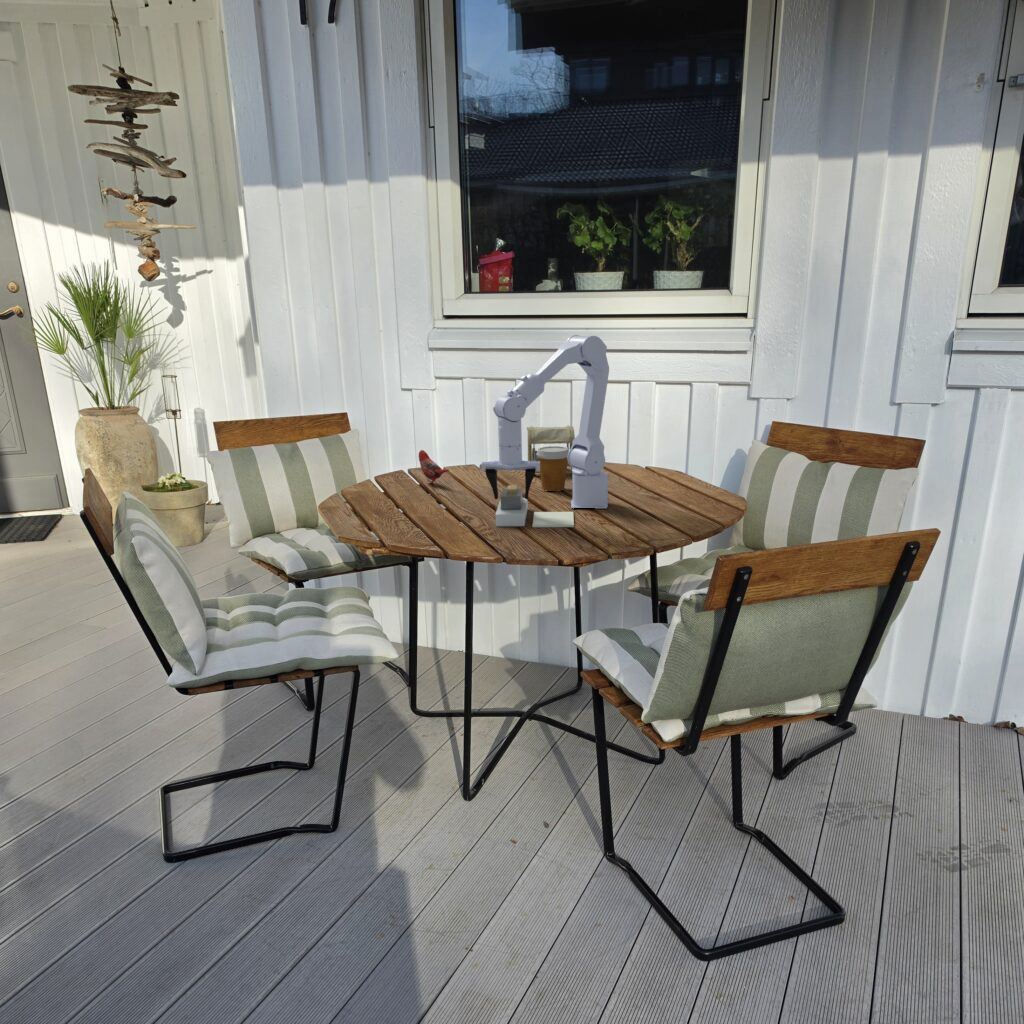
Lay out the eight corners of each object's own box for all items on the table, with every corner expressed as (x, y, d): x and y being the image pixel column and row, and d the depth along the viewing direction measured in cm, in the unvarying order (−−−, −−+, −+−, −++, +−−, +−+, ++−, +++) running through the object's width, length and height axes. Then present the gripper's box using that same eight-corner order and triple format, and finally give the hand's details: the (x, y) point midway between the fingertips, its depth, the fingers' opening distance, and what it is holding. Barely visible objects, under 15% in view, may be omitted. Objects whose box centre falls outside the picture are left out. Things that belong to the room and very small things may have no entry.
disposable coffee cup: (575, 491, 215) (575, 450, 212) (545, 495, 212) (544, 453, 208) (561, 484, 223) (560, 444, 220) (531, 488, 220) (530, 447, 217)
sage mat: (573, 513, 192) (573, 511, 192) (573, 526, 181) (573, 524, 180) (534, 513, 193) (534, 512, 193) (532, 527, 181) (532, 525, 181)
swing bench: (528, 477, 235) (527, 430, 231) (527, 470, 244) (526, 425, 240) (575, 475, 235) (575, 428, 231) (572, 469, 244) (572, 424, 240)
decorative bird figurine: (424, 479, 235) (422, 448, 232) (454, 489, 221) (452, 456, 218) (415, 481, 233) (413, 449, 230) (445, 491, 219) (444, 457, 216)
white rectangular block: (527, 508, 198) (527, 484, 196) (524, 526, 182) (523, 500, 181) (501, 509, 198) (500, 485, 197) (495, 526, 183) (494, 500, 181)
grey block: (522, 501, 193) (522, 484, 192) (520, 509, 186) (520, 492, 184) (503, 501, 194) (502, 484, 192) (500, 510, 186) (500, 492, 185)
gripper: (479, 448, 182) (481, 502, 186) (539, 447, 181) (539, 502, 185) (482, 443, 189) (484, 495, 192) (539, 442, 188) (540, 495, 191)
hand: (511, 498), depth 189 cm, fingers open, 7 cm apart
